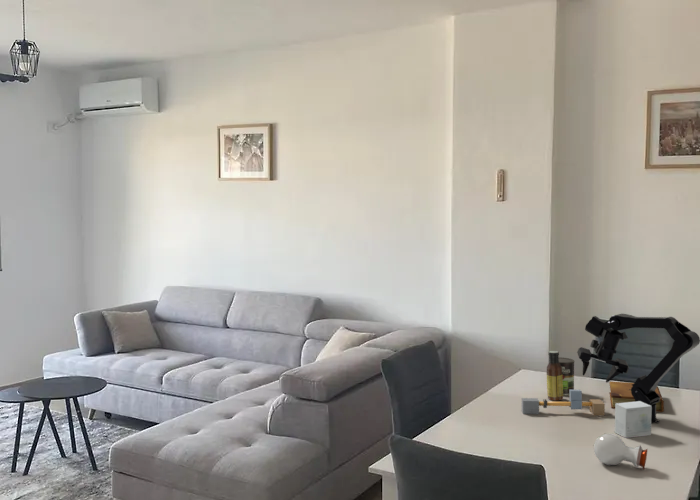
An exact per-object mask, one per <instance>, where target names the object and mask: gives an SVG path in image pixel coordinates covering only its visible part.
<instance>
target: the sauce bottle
mask: <svg viewBox="0 0 700 500" xmlns="http://www.w3.org/2000/svg"><path fill="white" fill-rule="evenodd" d="M559 353H560V352H559V351H557V350H550V351H548V364H547V366H546V389H547V394H546V395H547V399H548V400H549V401H552V402H561V401H563V399H564V395H563V378H562V367H561V365H560V363H559V358H558V357H560V356H559V355H560V354H559Z"/></svg>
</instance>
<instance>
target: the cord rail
mask: <svg viewBox="0 0 700 500" xmlns="http://www.w3.org/2000/svg"><path fill="white" fill-rule="evenodd" d="M605 405H606V404H605V403H604V401H602V399H591V398H590V399H589V401H582V407H589V412H590V413H591V414H592V416H595V417H596V416H597V417H599V416H605V410H606V409H605V407H606V406H605ZM569 406H571V402H569V401H547V399H545V398H544V399H542V401H540V400H539V398H535V397H529V398H528V397H524V398H523V397H522V398H521V412H522V414H523V415H540V407H543V409H547V407H569Z"/></svg>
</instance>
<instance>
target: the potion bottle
mask: <svg viewBox="0 0 700 500" xmlns="http://www.w3.org/2000/svg"><path fill="white" fill-rule="evenodd" d="M648 450H649V449H648V448H645V449H643V447H642V445H641V444H640V445H638V446H636V447H631V446H629V445H626V443H624V441H623V439H622V438H621V437H620V436H618V434H616V433H604V434H601V435H600V436H598V437H597V438H596V439H595V441H594V444H593V453H594V455H595V457H596V459H598V461H599V462H601V463H602V464H604V465H605V466H617V465H618V464H620V463H621V462H623V461H625V462H629V463H631V464H632V465H633V466H634V468H636V469H638V468H639V467H641V468H642V469H643V470H645V467H646V463H647V459H648Z"/></svg>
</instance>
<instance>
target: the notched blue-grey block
mask: <svg viewBox="0 0 700 500" xmlns="http://www.w3.org/2000/svg"><path fill="white" fill-rule="evenodd" d="M582 393H583V392H582V390H581V389H574V390H572V389H569V395H568V396H569V398H568V402H571V406H568V408H570V410H583V406H582V402H583V401H582V399H583V398H582V397H583V396H582Z"/></svg>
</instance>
